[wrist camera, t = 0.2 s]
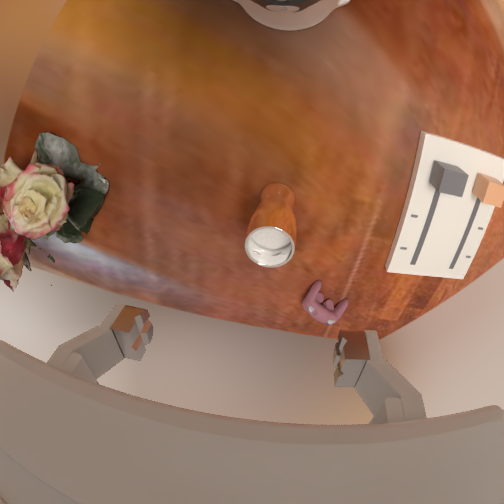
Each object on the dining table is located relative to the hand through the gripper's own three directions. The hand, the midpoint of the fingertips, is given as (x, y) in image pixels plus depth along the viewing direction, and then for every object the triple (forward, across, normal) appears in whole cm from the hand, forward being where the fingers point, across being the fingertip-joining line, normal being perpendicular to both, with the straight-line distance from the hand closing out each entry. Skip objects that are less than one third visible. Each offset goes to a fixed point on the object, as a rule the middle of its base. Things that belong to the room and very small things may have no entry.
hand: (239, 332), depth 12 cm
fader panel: (+40, -32, +8) cm, 52 cm away
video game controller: (+42, -11, +31) cm, 53 cm away
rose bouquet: (+40, +50, +5) cm, 64 cm away
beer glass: (+40, +1, +8) cm, 41 cm away
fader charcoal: (+37, -28, 0) cm, 46 cm away
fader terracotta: (+37, -38, 0) cm, 52 cm away
